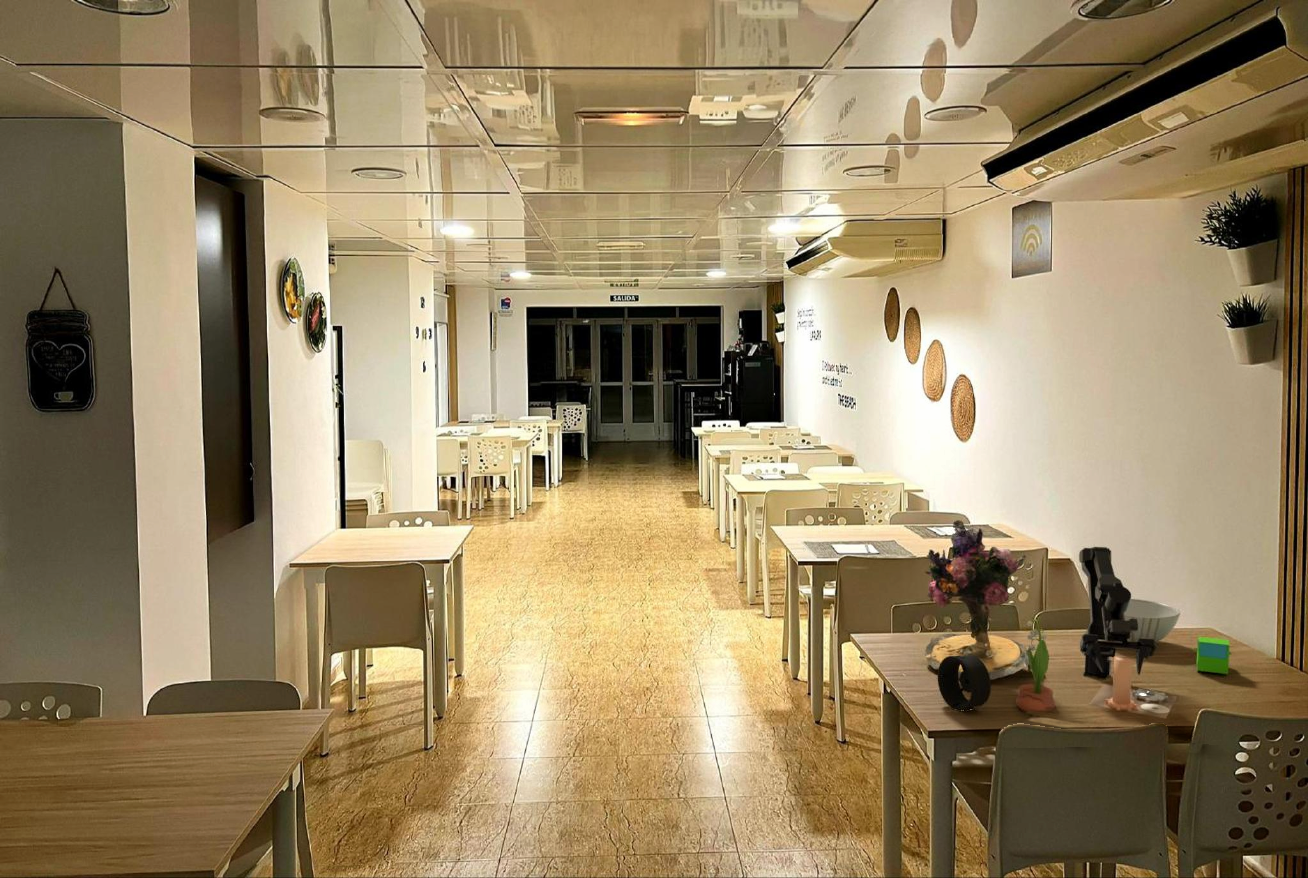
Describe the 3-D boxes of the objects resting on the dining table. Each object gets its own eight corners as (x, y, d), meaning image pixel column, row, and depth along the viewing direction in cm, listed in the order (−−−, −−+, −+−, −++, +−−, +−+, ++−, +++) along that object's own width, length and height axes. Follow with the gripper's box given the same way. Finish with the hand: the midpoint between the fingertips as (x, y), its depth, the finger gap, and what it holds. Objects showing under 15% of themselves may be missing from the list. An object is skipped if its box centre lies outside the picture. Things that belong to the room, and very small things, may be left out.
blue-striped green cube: (1229, 666, 333) (1230, 634, 332) (1231, 678, 321) (1233, 645, 320) (1192, 661, 337) (1193, 630, 336) (1193, 673, 325) (1195, 641, 324)
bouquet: (882, 665, 316) (902, 516, 326) (949, 683, 348) (966, 546, 358) (990, 682, 294) (1009, 521, 304) (1051, 699, 326) (1066, 553, 336)
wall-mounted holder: (1003, 660, 286) (973, 664, 282) (1001, 713, 288) (971, 718, 284) (967, 646, 300) (938, 649, 296) (965, 697, 301) (936, 701, 297)
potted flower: (1006, 701, 297) (1010, 612, 295) (1041, 701, 298) (1045, 612, 296) (1025, 716, 285) (1029, 624, 283) (1061, 716, 286) (1065, 623, 284)
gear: (1129, 699, 296) (1130, 693, 295) (1135, 691, 303) (1135, 684, 303) (1164, 705, 291) (1165, 699, 291) (1169, 696, 298) (1170, 690, 298)
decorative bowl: (1143, 659, 339) (1145, 621, 338) (1072, 638, 362) (1073, 603, 361) (1195, 647, 353) (1197, 611, 352) (1123, 628, 376) (1125, 594, 375)
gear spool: (1103, 707, 289) (1105, 659, 288) (1108, 699, 295) (1110, 653, 294) (1133, 712, 285) (1136, 664, 284) (1138, 705, 291) (1141, 657, 290)
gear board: (1088, 709, 291) (1088, 703, 291) (1103, 689, 309) (1104, 683, 309) (1165, 724, 281) (1165, 717, 281) (1176, 702, 298) (1177, 695, 298)
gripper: (1083, 605, 297) (1089, 655, 287) (1156, 609, 293) (1164, 660, 283) (1077, 626, 305) (1082, 675, 295) (1148, 630, 301) (1155, 680, 291)
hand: (1120, 672), depth 291 cm, fingers open, 9 cm apart
